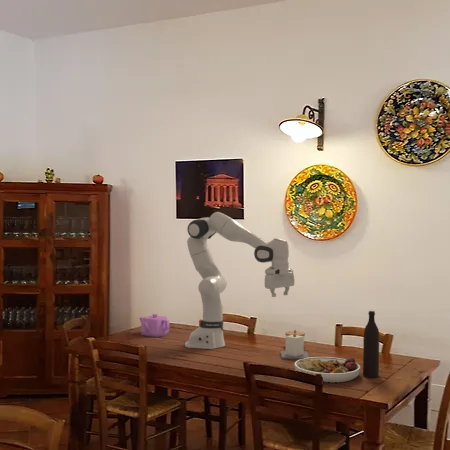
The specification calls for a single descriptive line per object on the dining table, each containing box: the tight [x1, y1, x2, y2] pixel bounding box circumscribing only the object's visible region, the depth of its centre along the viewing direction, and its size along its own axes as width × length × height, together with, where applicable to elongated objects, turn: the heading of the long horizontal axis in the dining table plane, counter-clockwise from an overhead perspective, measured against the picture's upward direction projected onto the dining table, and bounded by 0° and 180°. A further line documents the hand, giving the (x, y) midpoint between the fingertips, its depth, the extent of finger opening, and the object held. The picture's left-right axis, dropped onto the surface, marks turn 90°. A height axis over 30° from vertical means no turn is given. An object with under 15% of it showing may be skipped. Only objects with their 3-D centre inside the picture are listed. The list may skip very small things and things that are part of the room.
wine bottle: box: [362, 310, 380, 379], centre depth 279 cm, size 7×7×30 cm
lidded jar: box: [285, 329, 306, 339], centre depth 337 cm, size 11×11×9 cm
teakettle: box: [139, 313, 170, 338], centre depth 367 cm, size 17×17×12 cm
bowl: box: [294, 356, 361, 384], centre depth 281 cm, size 30×30×8 cm
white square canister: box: [285, 334, 305, 356], centre depth 316 cm, size 7×7×11 cm
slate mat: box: [280, 350, 310, 360], centre depth 316 cm, size 14×14×3 cm
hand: (279, 296), depth 317 cm, fingers open, 8 cm apart
